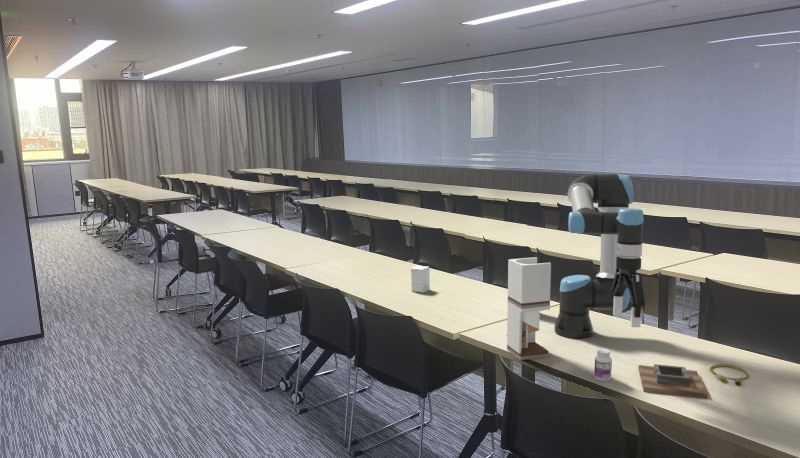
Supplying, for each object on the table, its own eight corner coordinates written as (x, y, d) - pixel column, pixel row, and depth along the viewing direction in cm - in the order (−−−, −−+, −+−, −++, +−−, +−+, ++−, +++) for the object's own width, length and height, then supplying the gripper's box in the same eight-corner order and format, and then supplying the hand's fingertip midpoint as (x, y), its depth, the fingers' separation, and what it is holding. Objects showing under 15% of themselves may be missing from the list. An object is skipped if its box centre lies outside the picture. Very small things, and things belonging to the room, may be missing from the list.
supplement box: (430, 289, 303) (430, 266, 301) (423, 293, 296) (423, 269, 294) (418, 288, 307) (417, 265, 305) (411, 291, 300) (410, 267, 298)
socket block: (638, 369, 197) (639, 358, 196) (696, 374, 192) (697, 363, 191) (643, 391, 180) (644, 379, 180) (707, 398, 175) (708, 386, 174)
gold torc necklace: (698, 377, 191) (699, 371, 191) (718, 364, 201) (718, 359, 201) (738, 388, 182) (738, 383, 182) (756, 375, 192) (757, 369, 191)
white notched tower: (520, 360, 207) (522, 265, 201) (506, 349, 217) (508, 259, 211) (548, 356, 210) (551, 263, 204) (533, 346, 220) (535, 257, 214)
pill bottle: (597, 373, 194) (598, 346, 193) (613, 377, 191) (614, 349, 189) (591, 378, 190) (592, 351, 188) (607, 382, 187) (608, 354, 185)
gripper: (602, 250, 196) (600, 311, 198) (634, 263, 171) (631, 332, 174) (623, 250, 196) (621, 311, 199) (659, 263, 172) (655, 332, 174)
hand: (626, 321), depth 186 cm, fingers open, 13 cm apart
